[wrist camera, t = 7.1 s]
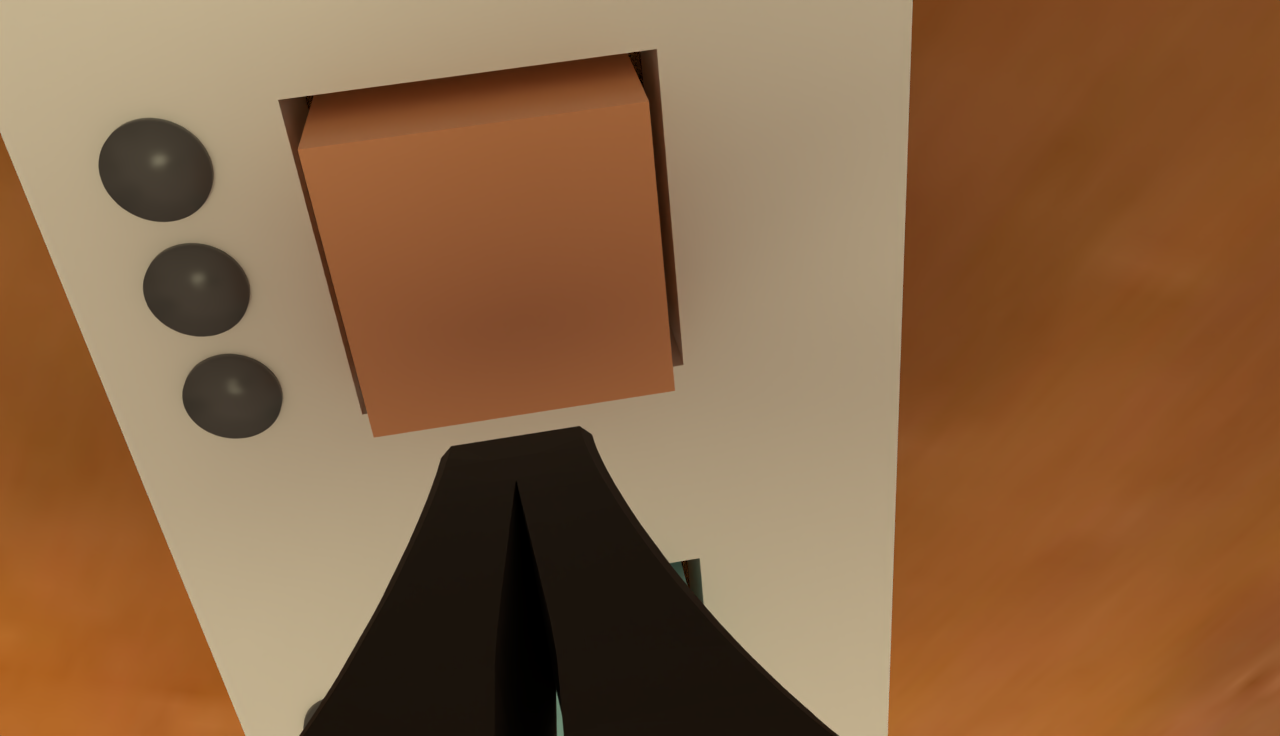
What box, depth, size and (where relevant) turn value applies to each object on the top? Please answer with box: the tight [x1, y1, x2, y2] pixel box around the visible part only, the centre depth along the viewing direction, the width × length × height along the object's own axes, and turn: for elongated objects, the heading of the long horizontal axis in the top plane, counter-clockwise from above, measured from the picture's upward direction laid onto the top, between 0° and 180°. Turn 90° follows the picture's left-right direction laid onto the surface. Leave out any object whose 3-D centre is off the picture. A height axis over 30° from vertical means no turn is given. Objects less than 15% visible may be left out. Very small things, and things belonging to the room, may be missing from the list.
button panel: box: [0, 0, 913, 736], centre depth 17 cm, size 12×30×2 cm, turn 6°
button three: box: [298, 53, 675, 437], centre depth 17 cm, size 4×4×3 cm
